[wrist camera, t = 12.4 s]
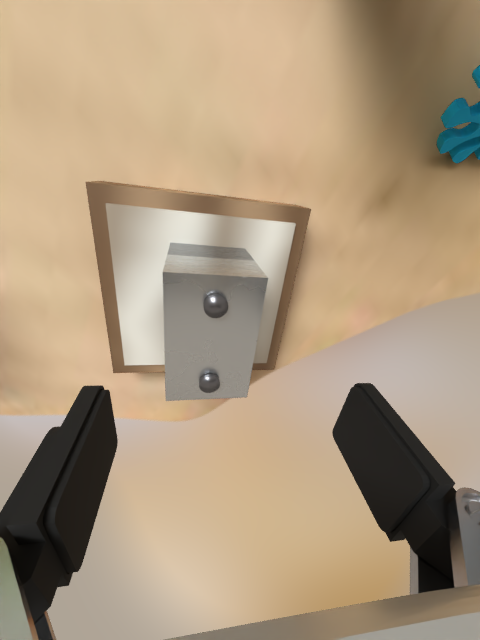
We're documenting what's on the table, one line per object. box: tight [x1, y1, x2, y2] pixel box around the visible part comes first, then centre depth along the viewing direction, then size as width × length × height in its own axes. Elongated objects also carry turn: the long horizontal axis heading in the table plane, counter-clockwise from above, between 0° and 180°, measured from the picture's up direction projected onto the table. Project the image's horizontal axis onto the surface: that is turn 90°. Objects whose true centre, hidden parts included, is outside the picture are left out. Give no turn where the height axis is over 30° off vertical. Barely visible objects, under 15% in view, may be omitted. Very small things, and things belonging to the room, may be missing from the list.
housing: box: [163, 242, 268, 401], centre depth 16 cm, size 5×8×6 cm, turn 173°
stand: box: [86, 181, 311, 373], centre depth 20 cm, size 14×14×3 cm
